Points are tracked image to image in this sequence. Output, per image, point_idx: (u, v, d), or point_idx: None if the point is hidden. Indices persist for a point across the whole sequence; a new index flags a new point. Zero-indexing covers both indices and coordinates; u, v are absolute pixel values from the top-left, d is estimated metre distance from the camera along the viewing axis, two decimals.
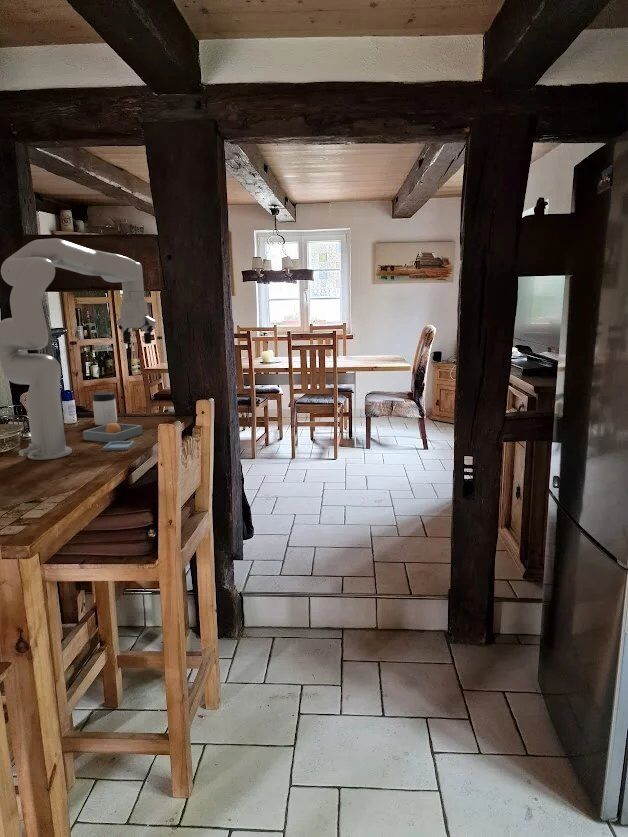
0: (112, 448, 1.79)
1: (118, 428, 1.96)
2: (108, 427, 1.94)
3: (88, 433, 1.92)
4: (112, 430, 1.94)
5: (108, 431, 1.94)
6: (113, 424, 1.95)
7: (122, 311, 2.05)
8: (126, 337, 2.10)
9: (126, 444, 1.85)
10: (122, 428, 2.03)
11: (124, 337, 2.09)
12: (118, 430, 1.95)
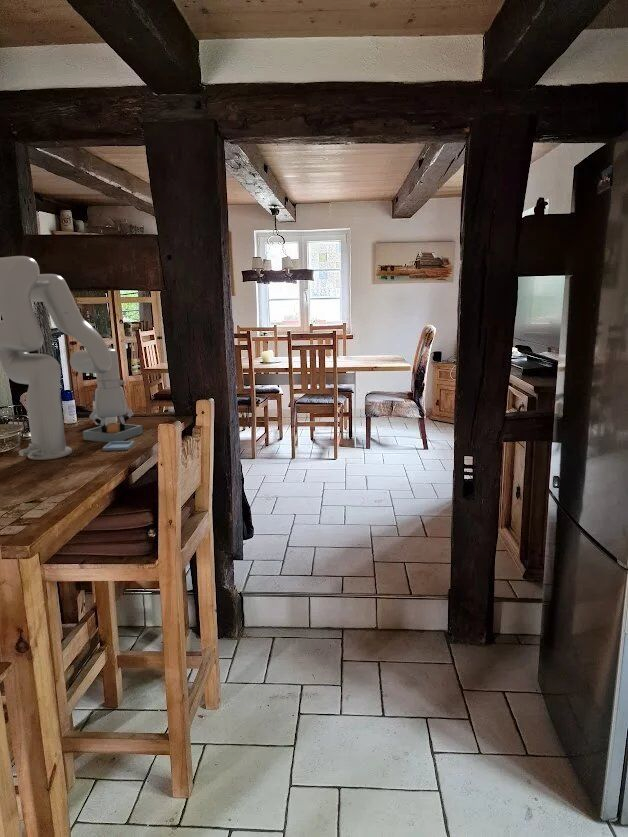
0: (112, 448, 1.79)
1: (118, 428, 1.96)
2: (108, 427, 1.94)
3: (88, 433, 1.92)
4: (112, 430, 1.94)
5: (108, 431, 1.94)
6: (113, 424, 1.95)
7: None
8: None
9: (126, 444, 1.85)
10: None
11: None
12: (118, 430, 1.95)
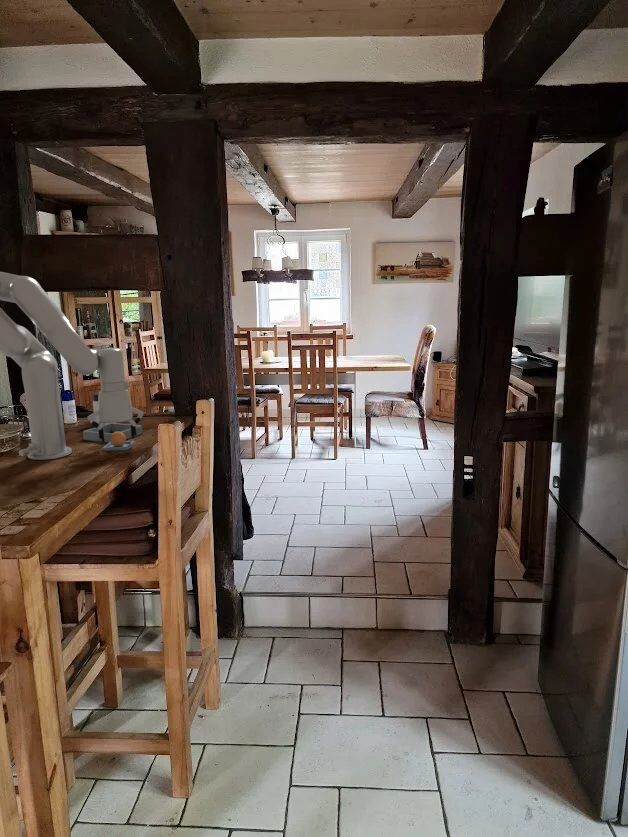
0: (112, 448, 1.79)
1: (123, 437, 1.81)
2: (113, 436, 1.80)
3: (88, 433, 1.92)
4: (117, 439, 1.80)
5: (113, 441, 1.80)
6: (118, 433, 1.81)
7: None
8: (131, 430, 1.84)
9: (126, 444, 1.85)
10: (122, 428, 2.03)
11: None
12: (123, 439, 1.81)
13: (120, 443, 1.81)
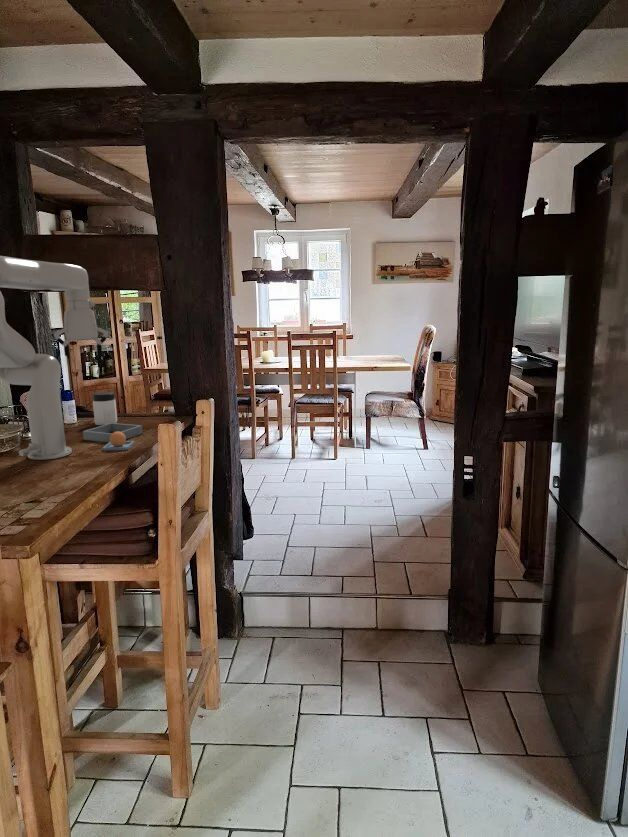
0: (112, 448, 1.79)
1: (123, 437, 1.81)
2: (112, 436, 1.80)
3: (88, 433, 1.92)
4: (116, 439, 1.80)
5: (112, 441, 1.80)
6: (118, 433, 1.81)
7: None
8: None
9: (126, 444, 1.85)
10: (122, 428, 2.03)
11: None
12: (123, 439, 1.81)
13: (120, 443, 1.81)
